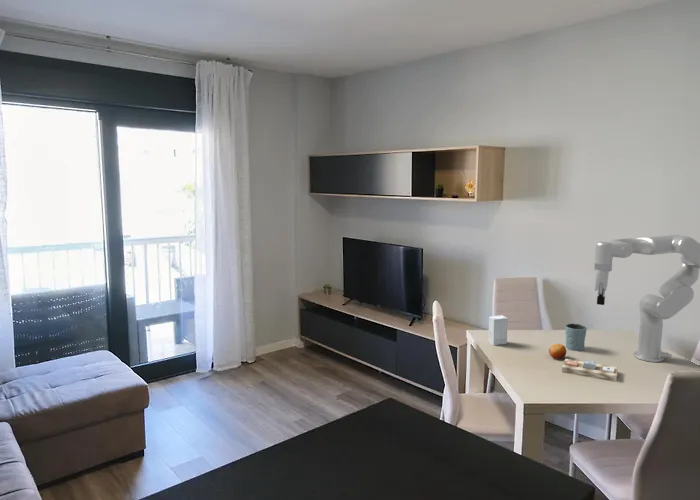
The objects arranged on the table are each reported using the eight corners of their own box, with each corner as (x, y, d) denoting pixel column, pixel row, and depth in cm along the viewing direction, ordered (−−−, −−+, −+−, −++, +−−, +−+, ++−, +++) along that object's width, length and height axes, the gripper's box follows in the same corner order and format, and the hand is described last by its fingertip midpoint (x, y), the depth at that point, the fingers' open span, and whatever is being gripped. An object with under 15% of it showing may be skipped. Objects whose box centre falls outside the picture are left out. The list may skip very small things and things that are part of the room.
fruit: (572, 358, 237) (563, 344, 236) (556, 365, 238) (548, 351, 238) (568, 352, 244) (560, 339, 244) (553, 359, 246) (545, 346, 246)
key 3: (577, 366, 228) (578, 361, 227) (576, 370, 224) (576, 364, 224) (567, 365, 230) (567, 359, 230) (565, 368, 226) (566, 362, 226)
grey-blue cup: (581, 345, 259) (582, 323, 258) (588, 351, 250) (590, 329, 248) (561, 344, 260) (562, 323, 259) (568, 351, 250) (569, 328, 249)
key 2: (595, 366, 224) (596, 361, 223) (595, 370, 220) (595, 364, 220) (584, 364, 226) (585, 359, 226) (583, 368, 222) (584, 362, 222)
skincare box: (501, 341, 267) (502, 314, 265) (507, 344, 261) (508, 317, 259) (487, 342, 265) (488, 315, 263) (493, 345, 260) (494, 318, 258)
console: (617, 372, 223) (617, 367, 223) (616, 381, 213) (616, 376, 212) (565, 363, 234) (565, 358, 234) (561, 371, 224) (562, 366, 223)
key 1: (614, 373, 220) (614, 367, 220) (613, 376, 216) (614, 371, 216) (602, 371, 223) (603, 365, 222) (602, 374, 219) (602, 369, 218)
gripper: (595, 264, 244) (593, 300, 246) (593, 269, 231) (590, 306, 233) (612, 265, 240) (610, 301, 242) (611, 270, 227) (608, 308, 230)
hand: (600, 304), depth 238 cm, fingers closed
